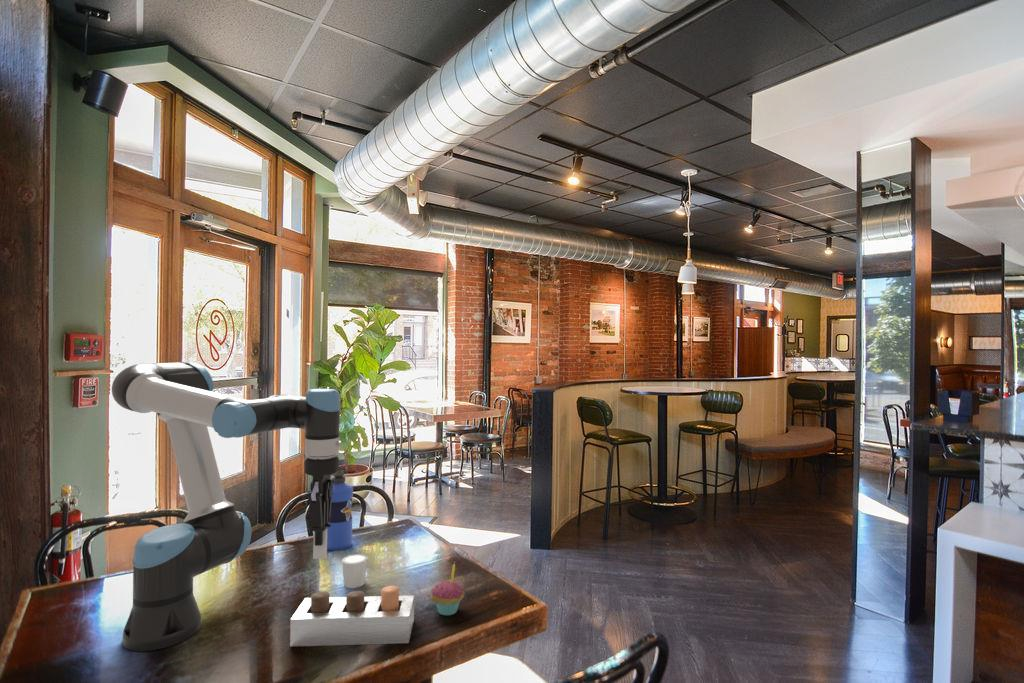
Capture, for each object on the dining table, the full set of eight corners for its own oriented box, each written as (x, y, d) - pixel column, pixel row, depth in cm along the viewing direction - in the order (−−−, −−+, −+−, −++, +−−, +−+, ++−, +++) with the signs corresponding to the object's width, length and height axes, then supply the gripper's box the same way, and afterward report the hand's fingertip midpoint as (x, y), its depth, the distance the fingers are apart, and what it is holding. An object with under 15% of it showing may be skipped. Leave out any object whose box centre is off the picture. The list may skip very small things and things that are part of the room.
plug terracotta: (379, 624, 121) (380, 593, 121) (382, 615, 125) (383, 585, 125) (397, 623, 122) (397, 593, 122) (399, 615, 126) (400, 585, 126)
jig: (290, 646, 117) (290, 619, 117) (304, 623, 127) (305, 597, 127) (408, 643, 119) (408, 616, 119) (413, 620, 129) (414, 595, 129)
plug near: (308, 630, 120) (308, 599, 120) (313, 621, 124) (314, 591, 124) (326, 630, 121) (326, 599, 121) (331, 621, 125) (331, 591, 125)
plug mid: (344, 629, 121) (344, 599, 121) (348, 620, 125) (348, 590, 125) (361, 629, 121) (362, 598, 121) (365, 620, 125) (365, 590, 125)
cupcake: (450, 599, 139) (451, 554, 140) (471, 611, 133) (472, 563, 133) (423, 611, 133) (424, 563, 134) (444, 623, 127) (444, 573, 127)
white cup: (359, 590, 144) (360, 564, 145) (336, 587, 146) (337, 562, 146) (371, 579, 151) (371, 554, 151) (349, 577, 153) (349, 552, 153)
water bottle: (317, 549, 173) (318, 473, 173) (331, 539, 182) (332, 466, 182) (344, 551, 171) (345, 474, 172) (357, 541, 180) (358, 468, 181)
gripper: (330, 461, 117) (328, 569, 116) (345, 450, 130) (343, 546, 129) (296, 461, 116) (293, 569, 116) (314, 450, 129) (312, 546, 129)
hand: (319, 557), depth 123 cm, fingers closed
